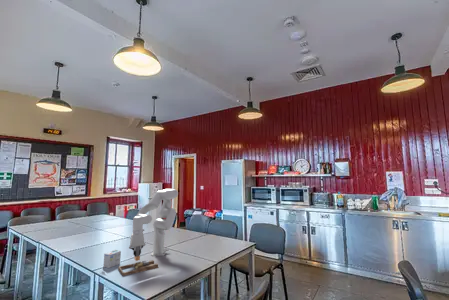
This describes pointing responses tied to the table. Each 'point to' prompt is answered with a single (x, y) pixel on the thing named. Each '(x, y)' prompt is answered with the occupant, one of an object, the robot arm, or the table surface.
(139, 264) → the tan yellow cube
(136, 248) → the gray orange block
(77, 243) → the table surface
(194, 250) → the table surface
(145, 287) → the table surface
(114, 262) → the light bulb box
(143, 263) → the dark gray cube
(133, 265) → the slot board
